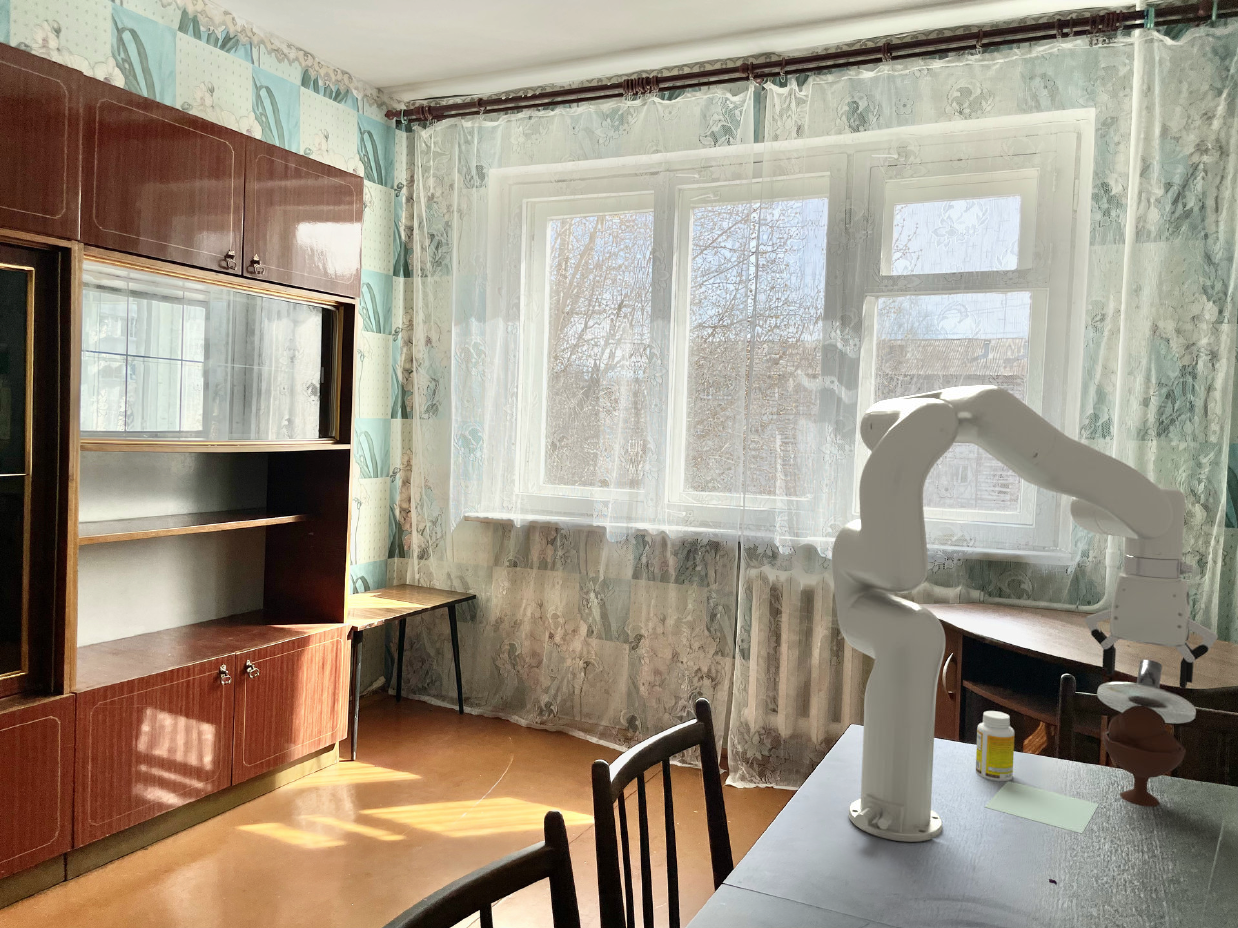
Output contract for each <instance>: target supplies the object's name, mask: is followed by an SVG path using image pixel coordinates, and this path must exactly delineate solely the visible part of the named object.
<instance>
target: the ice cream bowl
mask: <svg viewBox="0 0 1238 928" xmlns="http://www.w3.org/2000/svg"><path fill="white" fill-rule="evenodd" d="M1101 735H1102V742H1103V745H1104V747H1105V749H1106V751H1107V753H1108V755H1109V756H1110V758H1111V759H1112V761H1114V762H1115V764H1116V765H1117V766H1118V767H1120V769H1123V770H1124V771H1125V772H1128V773H1129V774H1132V777H1133V778H1134V779H1133V780H1134V782H1133V788H1132V789H1128V790H1126V791H1123V792H1120V794H1119V796H1120V797H1121V799H1122V800H1124V801H1126V802H1128V803H1130V804H1133V805H1138V806H1142V807H1152V808H1153V807H1157V806H1159V805H1161V803H1160V800H1159V799H1158V798H1157V797H1155V795H1153V794H1151V793H1150V792H1149V791H1148V782H1149V780H1150V779H1151V778H1158V777H1160V776H1163V775H1166V774H1168V773H1170V772H1171V771H1173V770H1174V769H1176V768H1177V767H1179V766H1180V764H1181V763H1182V761H1183V760H1184V758H1185V755H1186V751H1187V749H1186V747H1185V746H1184V745H1183V744H1182V743H1181V742H1180V741H1179V740H1177V739H1176V738H1175V736H1174V735H1172V734H1171V733H1170V732H1168V731H1167V730H1166V723H1165V720H1164V719H1163V717H1162V716H1161V715H1160V714H1158V713H1157V712H1156V711H1154V710H1153V709H1151V708H1148V707H1146V706H1132V707H1130V708H1128V709H1126V710H1125V711H1124V712H1119V713H1118V714H1116V715H1115V716H1114V717H1113V718H1112V719H1111V720H1110V721H1109V724H1108V727H1107V730H1105V731H1102V732H1101Z"/></svg>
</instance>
